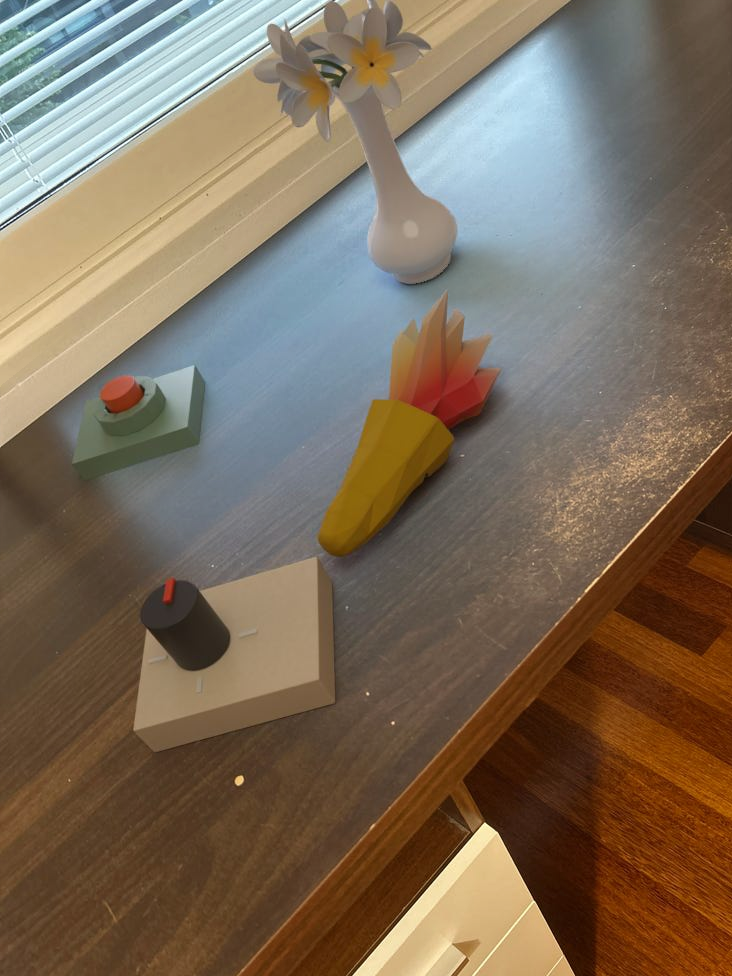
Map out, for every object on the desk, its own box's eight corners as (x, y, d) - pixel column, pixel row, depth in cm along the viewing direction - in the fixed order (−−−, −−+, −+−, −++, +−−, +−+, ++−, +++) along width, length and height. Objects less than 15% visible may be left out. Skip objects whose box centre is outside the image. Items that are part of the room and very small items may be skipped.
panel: (154, 753, 74) (131, 729, 71) (168, 629, 81) (148, 604, 79) (335, 703, 72) (318, 677, 69) (332, 581, 79) (316, 554, 77)
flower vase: (381, 227, 112) (285, -21, 93) (522, 236, 103) (446, -37, 84) (313, 299, 107) (197, 52, 88) (455, 316, 97) (359, 43, 79)
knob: (228, 663, 73) (192, 617, 69) (172, 677, 74) (133, 632, 70) (233, 617, 76) (198, 570, 72) (179, 631, 76) (141, 585, 72)
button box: (84, 480, 98) (60, 450, 95) (98, 417, 104) (75, 386, 101) (199, 444, 96) (177, 411, 93) (205, 382, 103) (185, 349, 100)
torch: (357, 596, 83) (474, 366, 92) (411, 584, 77) (531, 338, 86) (276, 538, 79) (407, 303, 88) (326, 521, 73) (461, 270, 82)
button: (107, 419, 97) (97, 404, 95) (112, 396, 99) (102, 381, 98) (142, 407, 96) (132, 393, 95) (145, 385, 99) (136, 370, 97)
